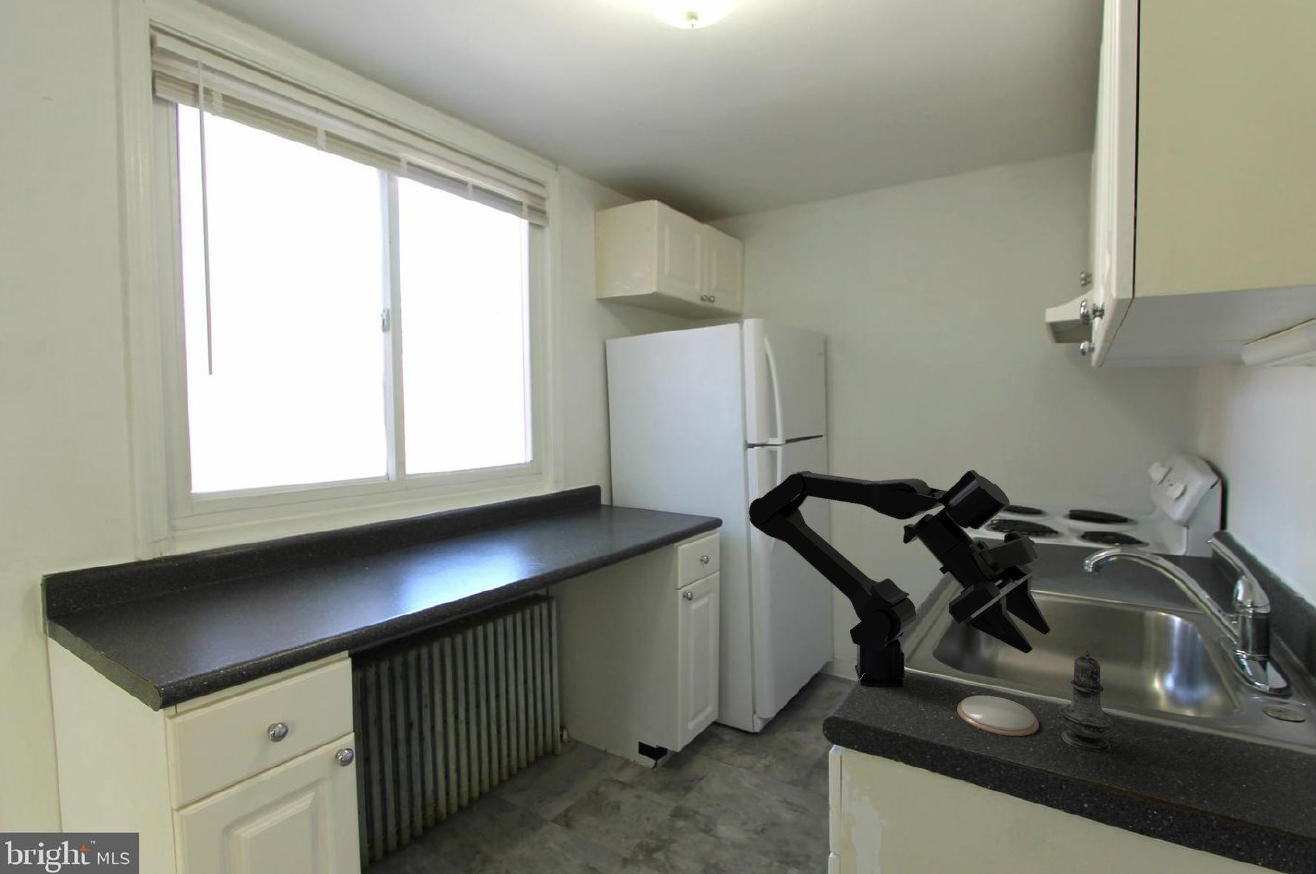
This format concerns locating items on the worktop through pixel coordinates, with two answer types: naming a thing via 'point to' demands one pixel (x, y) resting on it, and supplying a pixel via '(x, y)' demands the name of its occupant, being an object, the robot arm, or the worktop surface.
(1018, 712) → the coaster
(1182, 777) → the worktop surface
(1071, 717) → the dark chess piece
